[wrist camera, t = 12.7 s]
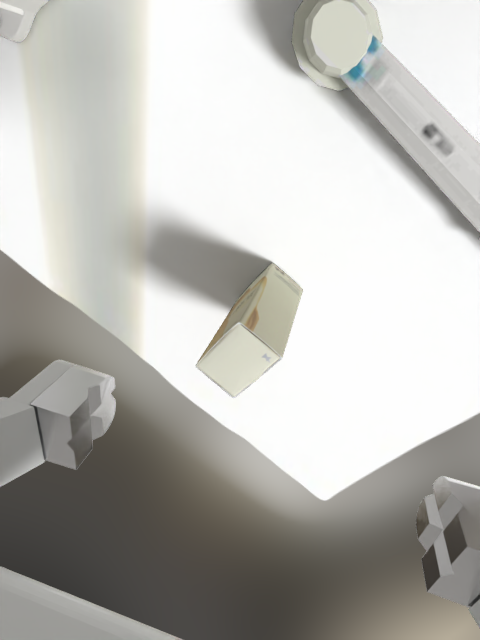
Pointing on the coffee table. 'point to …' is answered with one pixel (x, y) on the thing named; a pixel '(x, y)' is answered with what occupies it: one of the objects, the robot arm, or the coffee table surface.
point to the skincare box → (252, 332)
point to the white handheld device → (388, 93)
